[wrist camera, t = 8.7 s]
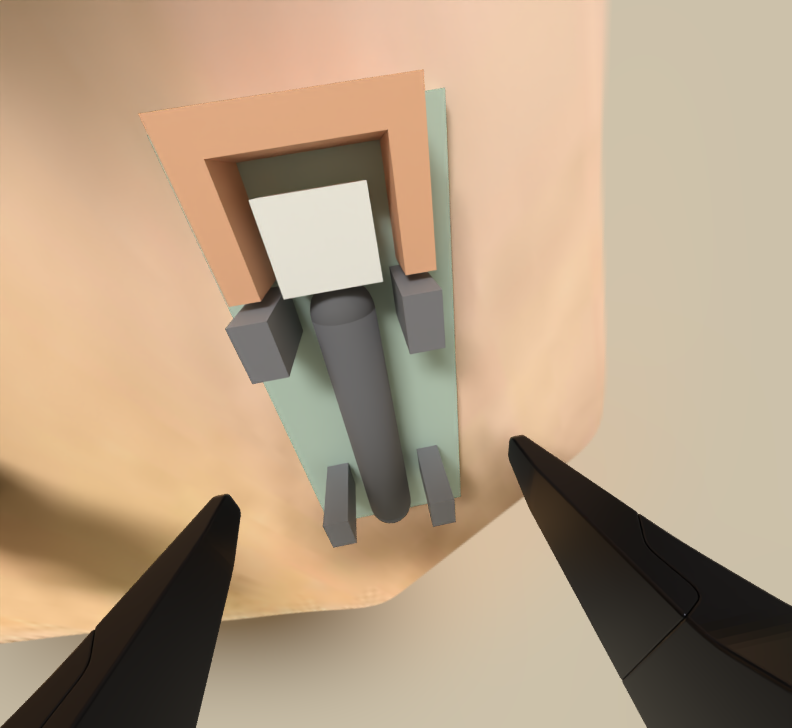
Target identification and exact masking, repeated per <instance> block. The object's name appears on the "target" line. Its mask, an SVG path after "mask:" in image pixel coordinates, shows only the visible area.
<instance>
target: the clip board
mask: <svg viewBox="0 0 792 728" xmlns="http://www.w3.org/2000/svg"><path fill="white" fill-rule="evenodd" d="M138 114H139V116H140V118H141V121H142V123H143V125H144V127H145V129H146V131H147V133H148V135H147V136H148V138H149V140H150V142H151V145H152V147H153V149H154V151H155V153H156V155H157V157H158V159H159V162H160V164H161V166H162V168H163V170H164V172H165V174H166V176H167V179H168V181H169V183H170V185H171V187H172V189H173V191H174V193H175V196H176V198H177V200H178V202H179V204H180V206H181V208H182V211H183V213H184V215H185V217H186V219H187V221H188V223H189V225H190V228H191V230H192V232H193V234H194V236H195V238H196V240H197V242H198V245H199V247H200V249H201V251H202V253H203V255H204V257H205V260H206V262H207V264H208V266H209V268H210V270H211V272H212V274H213V277H214V279H215V281H216V283H217V285H218V287H219V289H220V291H221V294H222V296H223V298H224V300H225V302H226V304H227V306H228V309H229V311H230V313H231V315H232V317H233V320H232V321H231V322H230V324H229V325H228V326H227V327H226V328H225V330H226V332H227V334H228V336H229V338H230V340H231V342H232V344H233V346H234V348H235V350H236V352H237V354H238V356H239V358H240V360H241V362H242V364H243V366H244V368H245V370H246V372H247V374H248V376H249V378H250V380H251V382H252V384H256V383H261V382H263V383H264V385H265V387H266V389H267V392H268V394H269V396H270V398H271V400H272V402H273V404H274V406H275V409H276V411H277V413H278V415H279V417H280V419H281V421H282V424H283V426H284V428H285V430H286V432H287V434H288V436H289V438H290V441H291V443H292V445H293V447H294V449H295V451H296V453H297V455H298V458H299V460H300V462H301V464H302V466H303V468H304V470H305V472H306V475H307V477H308V479H309V481H310V483H311V485H312V487H313V490H314V492H315V494H316V496H317V498H318V500H319V502H320V504H321V507H322V509H323V511H324V519H323V528H324V530H325V532H326V534H327V536H328V538H329V540H330V542H331V544H332V546H333V548H334V547H339V546H344V545H348V544H353V543H357V536H356V518H360V517H365V516H370V515H374V513H373V512H372V509H371V506H370V503H369V500H368V497H367V494H366V491H365V487H364V484H363V481H362V478H361V475H360V472H359V469H358V465H357V462H356V459H355V456H354V453H353V450H352V446H351V443H350V440H349V437H348V434H347V431H346V428H345V424H344V421H343V418H342V415H341V412H340V409H339V405H338V402H337V399H336V396H335V393H334V390H333V386H332V383H331V380H330V377H329V374H328V371H327V368H326V364H325V361H324V358H323V355H322V352H321V349H320V345H319V342H318V339H317V336H316V333H315V330H314V326H313V323H312V320H311V316H310V303H311V299H312V297H313V295H314V294H311V295H306V296H300V297H294V298H289V299H283V296H282V293H281V290H280V287H279V285H278V282H277V279H276V276H275V273H274V271H273V268H272V265H271V262H270V259H269V257H268V254H267V251H266V248H265V245H264V243H263V240H262V237H261V234H260V231H259V229H258V226H257V223H256V220H255V217H254V214H253V212H252V209H251V206H250V203H249V200H251V199H255V198H259V197H263V196H267V195H273V194H279V193H285V192H291V191H297V190H303V189H309V188H315V187H321V186H327V185H333V184H339V183H345V182H351V181H357V180H367V186H368V192H369V198H370V204H371V211H372V217H373V223H374V229H375V235H376V241H377V247H378V253H379V259H380V265H381V272H382V278H383V282H378V283H373V284H367V285H363V286H364V287H365V288H366V289H367V290H368V291H369V293H370V295H371V297H372V298H373V301H374V304H375V309H376V315H377V320H378V325H379V331H380V336H381V341H382V347H383V352H384V357H385V363H386V368H387V373H388V379H389V384H390V389H391V395H392V400H393V405H394V411H395V416H396V421H397V427H398V432H399V437H400V443H401V448H402V453H403V459H404V464H405V469H406V475H407V480H408V486H409V491H410V496H411V505H410V507H413V506H418V505H423V504H428V508H429V512H430V516H431V520H432V525H433V527H434V526H439V525H444V524H448V523H453V522H456V520H455V502H454V498H457V497H461V493H460V466H459V440H458V414H457V388H456V362H455V335H454V309H453V283H452V257H451V231H450V204H449V178H448V152H447V126H446V100H445V88H440V89H434V90H427V91H425V85H424V70H416V71H410V72H404V73H397V74H391V75H384V76H378V77H371V78H365V79H358V80H352V81H345V82H339V83H332V84H326V85H319V86H313V87H307V88H300V89H294V90H287V91H281V92H274V93H268V94H261V95H255V96H248V97H242V98H235V99H229V100H223V101H216V102H210V103H203V104H197V105H190V106H184V107H177V108H171V109H164V110H158V111H151V112H145V113H138Z"/></svg>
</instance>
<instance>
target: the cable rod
mask: <svg viewBox="0 0 792 728" xmlns="http://www.w3.org/2000/svg"><path fill="white" fill-rule="evenodd" d="M249 203H250V206H251V209H252V212H253V214H254V217H255V220H256V223H257V226H258V229H259V231H260V234H261V237H262V240H263V243H264V245H265V248H266V251H267V254H268V257H269V259H270V262H271V265H272V268H273V271H274V273H275V276H276V279H277V282H278V285H279V287H280V290H281V293H282V296H283V299H289V298H294V297H300V296H306V295H311V294H314V295H313V297H312V299H311V303H310V316H311V320H312V323H313V326H314V330H315V333H316V336H317V339H318V342H319V345H320V349H321V352H322V355H323V358H324V361H325V364H326V368H327V371H328V374H329V377H330V380H331V383H332V386H333V390H334V393H335V396H336V399H337V402H338V405H339V409H340V412H341V415H342V418H343V421H344V424H345V428H346V431H347V434H348V437H349V440H350V443H351V446H352V450H353V453H354V456H355V459H356V462H357V465H358V469H359V472H360V475H361V478H362V481H363V484H364V487H365V491H366V494H367V497H368V500H369V503H370V506H371V509H372V512H373V513H374V515H375V516H376V517H377V518H378V519H379V520H381V521H382V522H385V523H395V522H398V521H400V520H401V519H403V518H404V517H405V516H406V515H407V513H408V511H409V508H410V505H411V496H410V491H409V486H408V480H407V475H406V469H405V464H404V459H403V453H402V448H401V443H400V437H399V432H398V427H397V421H396V416H395V411H394V405H393V400H392V395H391V389H390V384H389V379H388V373H387V368H386V363H385V357H384V352H383V347H382V341H381V336H380V331H379V325H378V320H377V315H376V309H375V304H374V301H373V298H372V297H371V295H370V293H369V291H368V290H367V289H366V288H365V287H364V286H363V285H367V284H373V283H378V282H383V278H382V272H381V265H380V259H379V253H378V247H377V241H376V235H375V229H374V223H373V217H372V211H371V204H370V198H369V192H368V186H367V180H357V181H351V182H345V183H339V184H333V185H327V186H321V187H315V188H309V189H303V190H297V191H291V192H285V193H279V194H273V195H267V196H263V197H259V198H255V199H251V200H249Z"/></svg>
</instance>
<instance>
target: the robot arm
mask: <svg viewBox="0 0 792 728" xmlns="http://www.w3.org/2000/svg"><path fill="white" fill-rule="evenodd" d="M508 457H509V461H510V463H511V466H512V468H513V471H514V473H515V475H516V478H517V480H518V483H519V485H520V488H521V490H522V493H523V495H524V497H525V500H526V502H527V504H528V507H529V509H530V511H531V513H532V515H533V516H534V518H535V520H536V522H537V524H538V526H539V528H540V529H541V531H542V533H543V535H544V537H545V539H546V541H547V542H548V544H549V546H550V548H551V550H552V552H553V553H554V555H555V557H556V559H557V561H558V563H559V564H560V566H561V568H562V570H563V572H564V574H565V576H566V578H567V580H568V581H569V583H570V585H571V587H572V589H573V591H574V592H575V594H576V596H577V598H578V600H579V602H580V603H581V606H582V607H583V609H584V611H585V613H586V615H587V617H588V618H589V620H590V622H591V624H592V626H593V628H594V630H595V631H596V633H597V635H598V637H599V639H600V641H601V643H602V645H603V646H604V648H605V650H606V652H607V654H608V656H609V657H610V659H611V661H612V663H613V665H614V667H615V669H616V670H617V672H618V674H619V676H620V678H621V679H622V681H623V684H624V686H625V688H626V689H627V691H628V693H629V695H630V697H631V699H632V700H633V702H634V704H635V706H636V708H637V710H638V712H639V713H640V715H641V717H642V719H643V721H644V723H645V724H646V726H647V728H792V606H791V605H789V604H787V603H785V602H783V601H782V600H780V599H778V598H776V597H774V596H773V595H771V594H769V593H768V592H766V591H764V590H762V589H761V588H759V587H757V586H756V585H754V584H752V583H751V582H749V581H747V580H746V579H744V578H742V577H740V576H739V575H737V574H735V573H733V572H732V571H730V570H728V569H727V568H725V567H723V566H722V565H720V564H718V563H717V562H715V561H713V560H712V559H710V558H708V557H706V556H705V555H703V554H701V553H700V552H698V551H697V550H695V549H693V548H692V547H690V546H688V545H687V544H685V543H683V542H682V541H680V540H679V539H677V538H675V537H674V536H672V535H671V534H669V533H668V532H666V531H665V530H663V529H662V528H660V527H659V526H657V525H656V524H654V523H653V522H651V521H650V520H648V519H646V518H645V517H644V516H642V515H641V514H638V513H637V512H636V511H635V510H633V509H632V508H630V507H629V506H627V505H626V504H624V503H623V502H621V501H620V500H619V499H617V498H616V497H614V496H613V495H611V494H610V493H608V492H607V491H605V490H604V489H602V488H601V487H599V486H598V485H596V484H595V483H593V482H592V481H591V480H589V479H588V478H586V477H584V476H583V475H582V474H580V473H579V472H577V471H576V470H574V469H573V468H571V467H570V466H568V465H567V464H566V463H564V462H563V461H561V460H560V459H558V458H557V457H555V456H554V455H552V454H551V453H549V452H548V451H546V450H545V449H543V448H542V447H540V446H539V445H538V444H536V443H535V442H533V441H532V440H530V439H529V438H527V437H526V436H524V435H518V436H513V437H511V438H510V440H509V451H508ZM240 517H241V512H240V509H239V507H238V505H237V504H236V503H235V501H234V500H233V499H232V497H231V496H230V495H229V494H223V495H218V496H215V497H213V498H212V499H211V500H210V501H209V502H208V503H207V504H206V506H205V507H204V508H203V509H202V510H201V511H200V512H199V513H198V514H197V515H196V517H195V518H194V519H193V520H192V521H191V522H190V523H189V524H188V525H187V527H186V528H185V529H184V530H183V531H182V532H181V533H180V534H179V535H178V536H177V538H176V539H175V540H174V541H173V542H172V543H171V544H170V545H169V546H168V548H167V549H166V550H165V551H164V552H163V553H162V554H161V555H160V556H159V558H158V559H157V560H156V561H155V562H154V563H153V564H152V565H151V566H150V567H149V569H148V570H147V571H146V572H145V573H144V574H143V575H142V576H141V577H140V579H139V580H138V581H137V582H136V583H135V584H134V585H133V586H132V587H131V588H130V590H129V591H128V592H127V593H126V594H125V595H124V596H123V597H122V598H121V600H120V601H119V602H118V603H117V604H116V605H115V606H114V607H113V608H112V609H111V611H110V612H109V613H108V614H107V615H106V616H105V617H104V618H103V619H102V621H101V622H100V623H99V624H98V625H97V626H96V628H95V630H93V631H91V633H90V634H89V635H88V636H87V637H86V638H85V639H84V640H83V642H82V643H81V644H80V645H79V646H78V647H77V648H76V649H75V650H74V652H72V653H71V655H70V656H69V657H68V658H67V659H66V660H65V661H64V662H63V663H62V664H61V665H60V666H59V667H58V669H57V670H56V671H55V672H54V673H53V674H52V675H51V676H50V677H49V678H48V679H47V680H46V681H45V682H44V683H43V684H42V685H41V687H39V688H38V690H37V691H36V692H35V693H34V694H33V695H32V696H31V697H30V698H29V699H28V700H27V701H26V702H25V703H24V704H23V705H22V706H21V707H20V708H19V709H18V710H17V711H16V712H15V713H14V714H13V715H12V716H11V717H10V718H9V719H8V720H7V721H6V722H5V723H4V724H3V725H2V726H1V727H0V728H196V725H197V721H198V716H199V712H200V708H201V704H202V699H203V695H204V691H205V687H206V683H207V678H208V674H209V670H210V666H211V662H212V657H213V653H214V649H215V644H216V640H217V636H218V632H219V628H220V623H221V619H222V615H223V611H224V607H225V602H226V598H227V594H228V590H229V585H230V581H231V577H232V572H233V568H234V561H235V554H236V547H237V539H238V532H239V524H240Z"/></svg>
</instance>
